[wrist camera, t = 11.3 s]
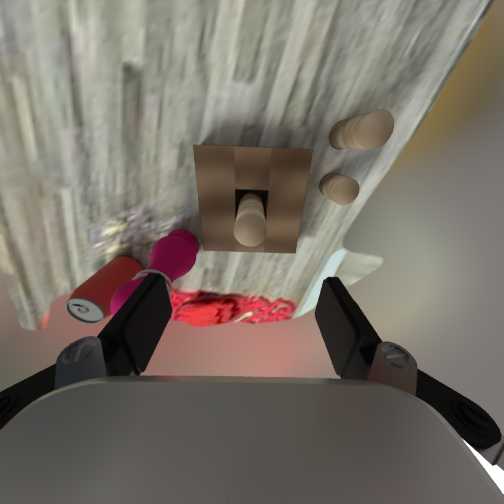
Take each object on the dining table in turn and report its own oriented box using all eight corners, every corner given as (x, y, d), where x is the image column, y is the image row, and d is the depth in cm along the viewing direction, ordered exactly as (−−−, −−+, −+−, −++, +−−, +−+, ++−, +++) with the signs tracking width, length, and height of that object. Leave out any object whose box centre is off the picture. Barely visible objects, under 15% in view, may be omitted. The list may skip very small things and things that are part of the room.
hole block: (200, 144, 29) (193, 144, 25) (305, 149, 29) (312, 149, 25) (208, 240, 36) (203, 250, 33) (291, 243, 37) (295, 253, 33)
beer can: (117, 248, 37) (64, 288, 27) (150, 265, 39) (112, 308, 29) (108, 271, 40) (56, 315, 29) (139, 285, 42) (100, 332, 31)
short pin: (321, 172, 31) (336, 177, 25) (343, 173, 31) (362, 178, 25) (317, 195, 32) (329, 204, 27) (338, 196, 32) (354, 205, 27)
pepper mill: (207, 237, 36) (164, 322, 19) (194, 265, 39) (147, 361, 22) (169, 220, 34) (84, 295, 17) (159, 251, 38) (78, 341, 20)
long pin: (240, 188, 32) (233, 214, 20) (262, 189, 32) (268, 216, 20) (240, 210, 34) (233, 246, 21) (260, 210, 34) (265, 247, 21)
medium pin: (332, 119, 27) (364, 108, 19) (357, 121, 27) (399, 110, 19) (326, 148, 29) (354, 148, 21) (349, 149, 29) (386, 150, 21)
